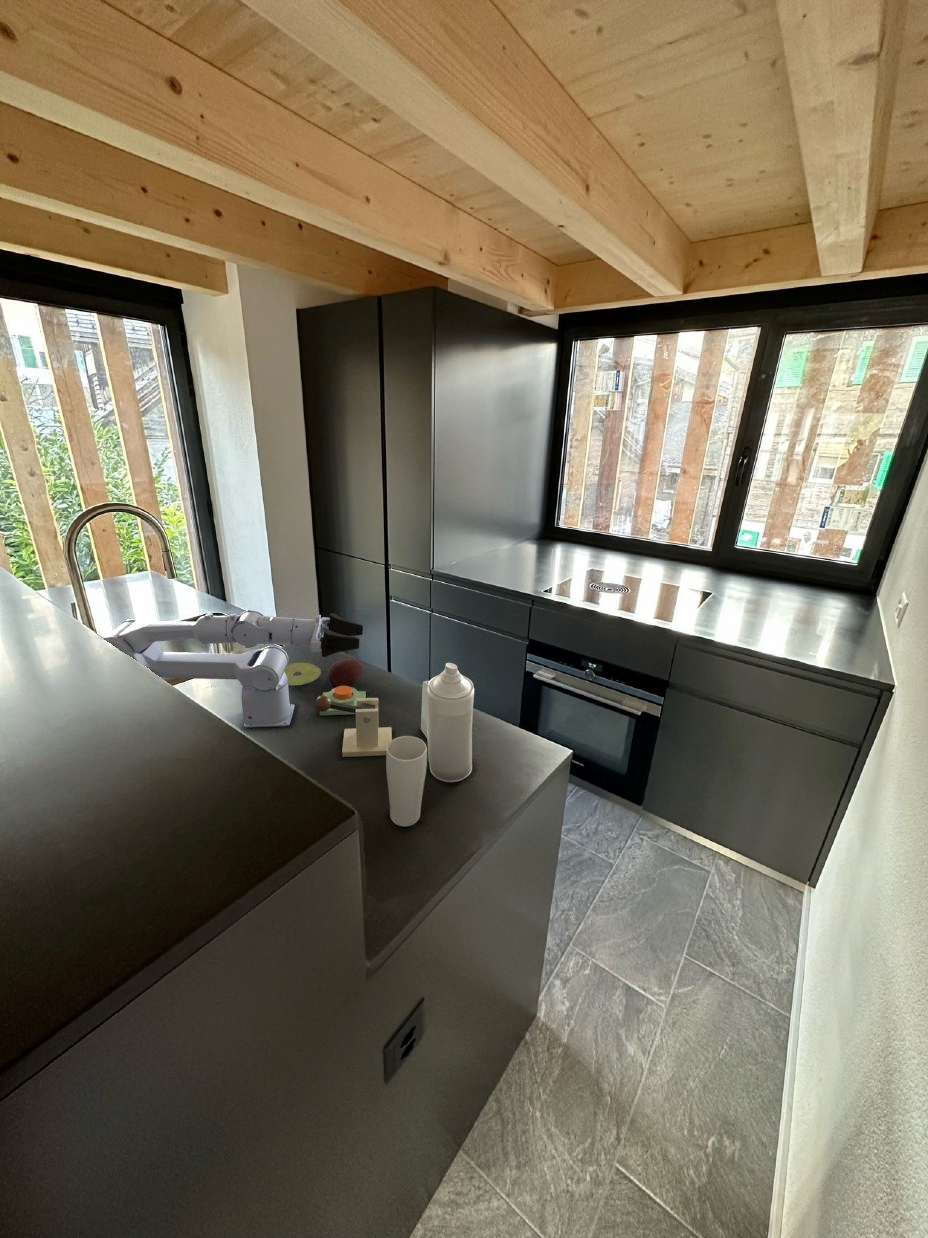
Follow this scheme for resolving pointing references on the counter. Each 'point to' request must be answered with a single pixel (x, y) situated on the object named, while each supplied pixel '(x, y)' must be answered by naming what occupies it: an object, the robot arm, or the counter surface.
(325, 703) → the lever
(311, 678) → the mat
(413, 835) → the counter surface
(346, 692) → the button
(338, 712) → the control block
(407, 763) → the drinking glass
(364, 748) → the bracket
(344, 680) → the potato
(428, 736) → the spray can
